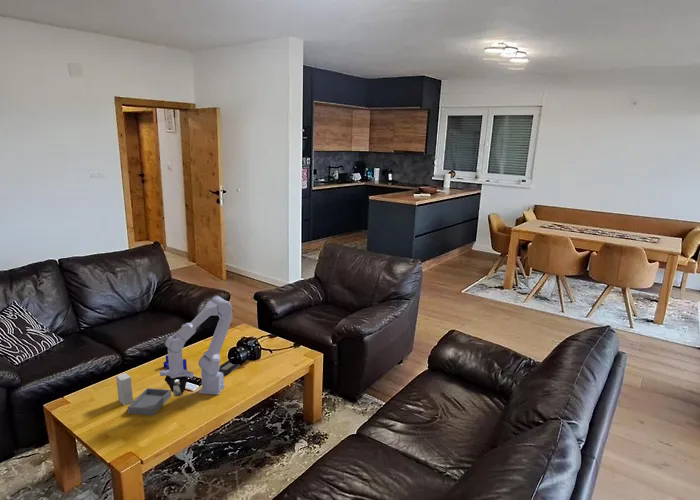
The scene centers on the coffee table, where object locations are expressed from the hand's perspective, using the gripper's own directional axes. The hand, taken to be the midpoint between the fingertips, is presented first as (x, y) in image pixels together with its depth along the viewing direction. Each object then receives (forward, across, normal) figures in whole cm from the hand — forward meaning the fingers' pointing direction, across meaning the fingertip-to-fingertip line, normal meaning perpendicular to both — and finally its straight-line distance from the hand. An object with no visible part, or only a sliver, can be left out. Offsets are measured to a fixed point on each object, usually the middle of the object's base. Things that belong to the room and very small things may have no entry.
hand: (178, 391), depth 197 cm
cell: (+2, 0, 0) cm, 2 cm away
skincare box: (+5, -23, -3) cm, 24 cm away
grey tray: (+5, -11, -4) cm, 13 cm away
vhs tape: (+6, +11, +31) cm, 34 cm away
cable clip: (+5, -16, +28) cm, 32 cm away
